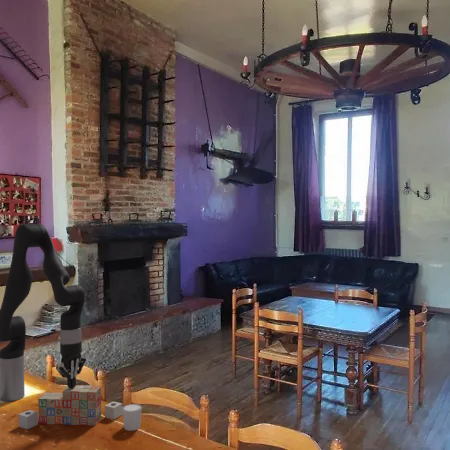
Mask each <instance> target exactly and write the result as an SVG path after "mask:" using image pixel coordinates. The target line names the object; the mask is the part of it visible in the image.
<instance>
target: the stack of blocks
mask: <svg viewBox="0 0 450 450" xmlns="http://www.w3.org/2000/svg"><path fill="white" fill-rule="evenodd" d="M37 400H38V403H37V404H38V406H37V407H38V424H46V425H72V426H73V425H74V426H77V425H78V426H97V424H98V423H99V421H100V420H101V419H102V386H101V385H89V384H88V385H81V384H80V385H77V384H76V385H75V387H74V388H72V389H71V388H68V386H66V387H65V389H64V390H62V392H45V393H44V394H42V395H41V396H40V397H38V399H37Z"/></svg>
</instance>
